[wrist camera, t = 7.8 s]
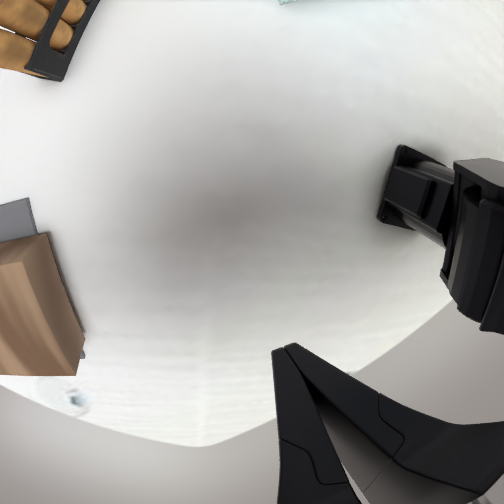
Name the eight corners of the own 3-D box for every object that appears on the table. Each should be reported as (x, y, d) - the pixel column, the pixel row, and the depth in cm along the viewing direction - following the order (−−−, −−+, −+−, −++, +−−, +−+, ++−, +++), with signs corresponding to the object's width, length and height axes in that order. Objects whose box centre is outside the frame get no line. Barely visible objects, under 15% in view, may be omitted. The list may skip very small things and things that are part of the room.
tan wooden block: (22, 261, 12) (-69, 278, 10) (75, 375, 17) (-17, 373, 15) (48, 231, 16) (-42, 251, 14) (85, 336, 20) (-2, 340, 18)
